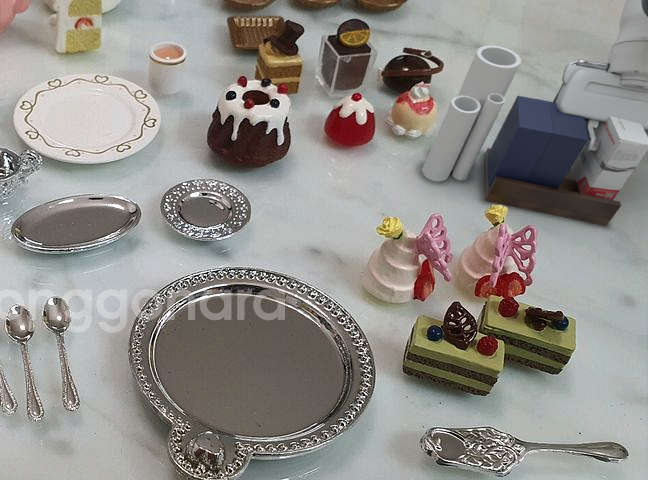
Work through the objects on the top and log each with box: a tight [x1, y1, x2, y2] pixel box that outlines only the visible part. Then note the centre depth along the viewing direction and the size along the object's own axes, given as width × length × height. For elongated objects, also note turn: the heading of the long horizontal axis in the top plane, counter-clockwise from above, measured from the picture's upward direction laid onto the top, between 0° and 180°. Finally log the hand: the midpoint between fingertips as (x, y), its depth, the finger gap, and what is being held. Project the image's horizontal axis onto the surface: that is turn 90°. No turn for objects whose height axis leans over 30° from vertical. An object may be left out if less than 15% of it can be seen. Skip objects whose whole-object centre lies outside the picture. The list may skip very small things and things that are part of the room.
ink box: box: [571, 116, 648, 200], centre depth 121 cm, size 9×5×12 cm, turn 170°
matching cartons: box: [488, 95, 588, 189], centre depth 123 cm, size 10×9×12 cm
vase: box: [421, 44, 522, 183], centre depth 124 cm, size 11×7×20 cm, turn 146°
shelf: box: [483, 147, 622, 227], centre depth 127 cm, size 19×13×4 cm
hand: (612, 155), depth 120 cm, fingers closed on ink box, 5 cm apart
